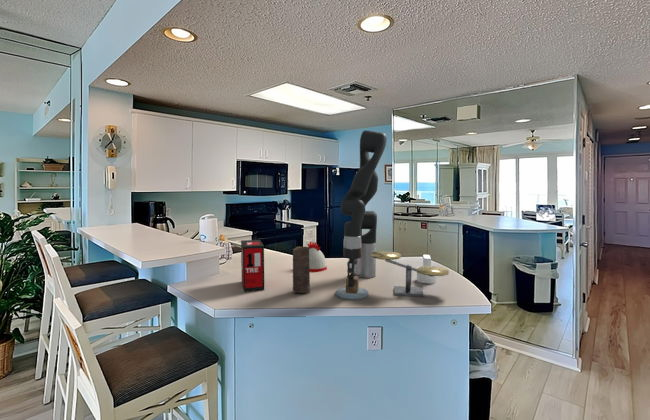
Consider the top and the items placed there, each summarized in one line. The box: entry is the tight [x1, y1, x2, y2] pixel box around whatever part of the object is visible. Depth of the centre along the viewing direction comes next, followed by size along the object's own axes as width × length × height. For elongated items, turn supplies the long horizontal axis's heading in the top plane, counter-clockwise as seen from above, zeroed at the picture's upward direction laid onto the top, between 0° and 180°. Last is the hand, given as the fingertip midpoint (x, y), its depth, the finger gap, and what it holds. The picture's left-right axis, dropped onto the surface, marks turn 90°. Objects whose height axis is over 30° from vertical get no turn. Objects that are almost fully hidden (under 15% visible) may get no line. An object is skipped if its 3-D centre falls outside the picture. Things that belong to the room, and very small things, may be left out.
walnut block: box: [345, 275, 360, 294], centre depth 150 cm, size 5×5×6 cm
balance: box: [371, 250, 450, 298], centre depth 152 cm, size 33×13×16 cm, turn 80°
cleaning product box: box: [240, 239, 265, 293], centre depth 161 cm, size 16×9×20 cm, turn 17°
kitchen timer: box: [307, 241, 328, 273], centre depth 193 cm, size 14×14×15 cm
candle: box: [292, 246, 311, 294], centre depth 152 cm, size 8×7×20 cm
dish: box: [335, 286, 369, 301], centre depth 150 cm, size 14×14×1 cm
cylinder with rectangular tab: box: [416, 254, 437, 284], centre depth 170 cm, size 9×9×12 cm
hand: (352, 283), depth 149 cm, fingers open, 8 cm apart
